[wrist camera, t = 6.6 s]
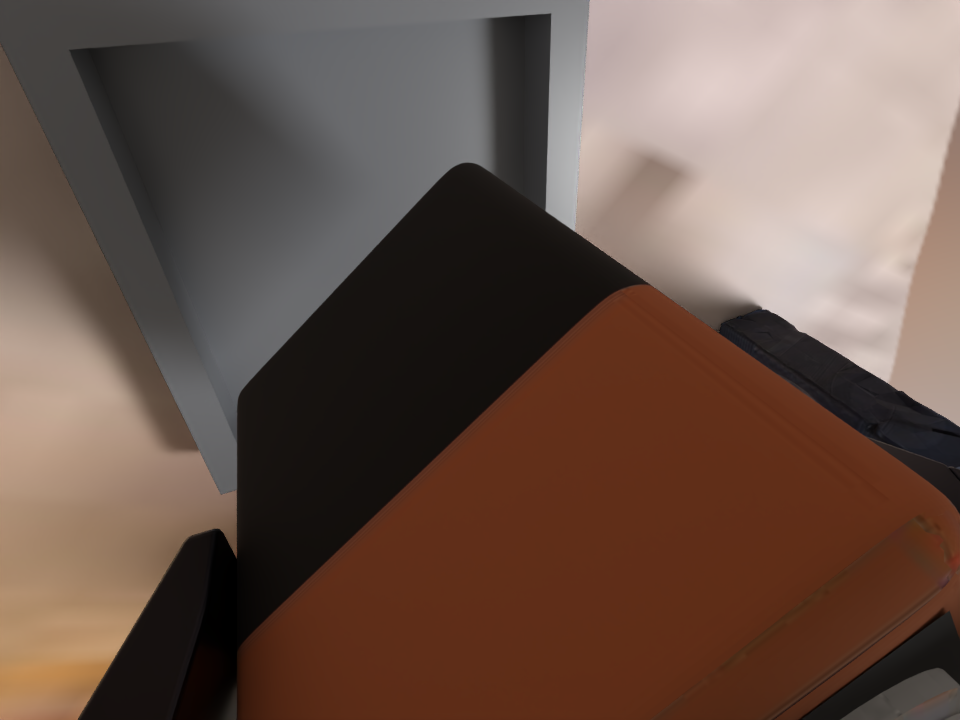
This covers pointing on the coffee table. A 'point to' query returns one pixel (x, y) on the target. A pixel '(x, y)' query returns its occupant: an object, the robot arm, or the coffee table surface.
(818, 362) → the vhs cassette tape
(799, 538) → the battery
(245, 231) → the tray
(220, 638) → the robot arm
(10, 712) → the coffee table surface
